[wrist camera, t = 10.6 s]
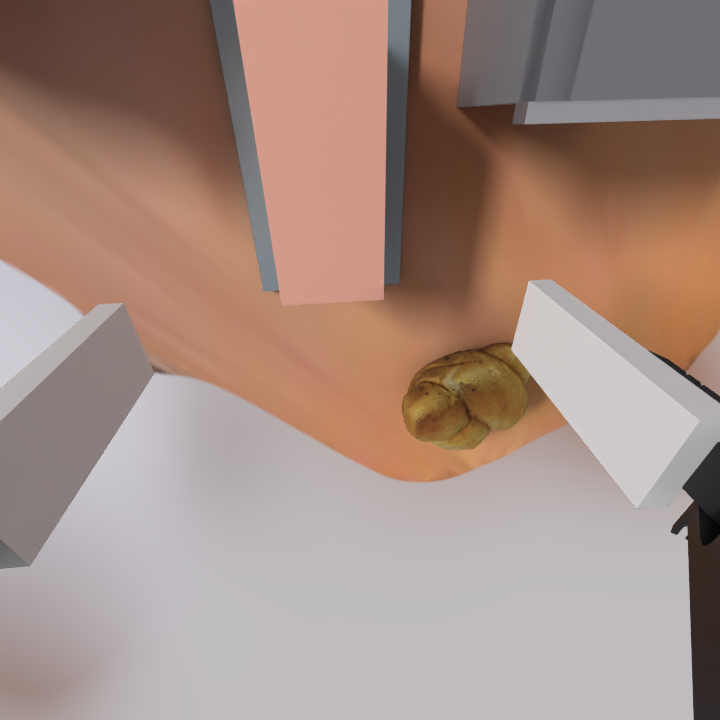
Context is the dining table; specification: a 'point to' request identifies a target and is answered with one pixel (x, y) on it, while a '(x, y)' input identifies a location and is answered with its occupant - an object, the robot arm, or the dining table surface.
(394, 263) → the mat
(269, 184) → the salmon pink rectangular block
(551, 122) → the box
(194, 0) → the dining table surface
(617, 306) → the dining table surface
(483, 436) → the bread roll
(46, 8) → the dining table surface
